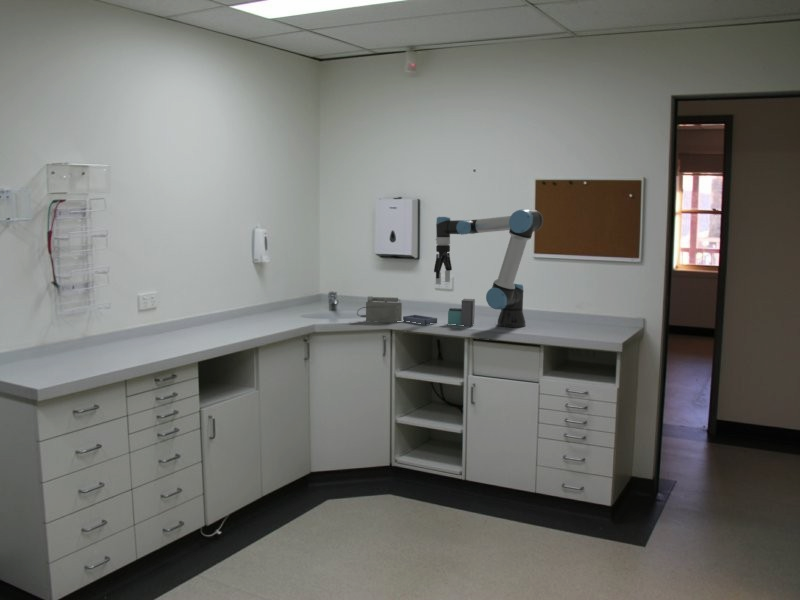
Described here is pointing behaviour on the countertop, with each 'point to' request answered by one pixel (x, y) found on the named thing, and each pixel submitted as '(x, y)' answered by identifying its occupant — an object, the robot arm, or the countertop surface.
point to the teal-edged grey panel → (454, 316)
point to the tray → (420, 319)
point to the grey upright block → (467, 312)
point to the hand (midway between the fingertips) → (442, 283)
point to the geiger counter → (383, 309)
